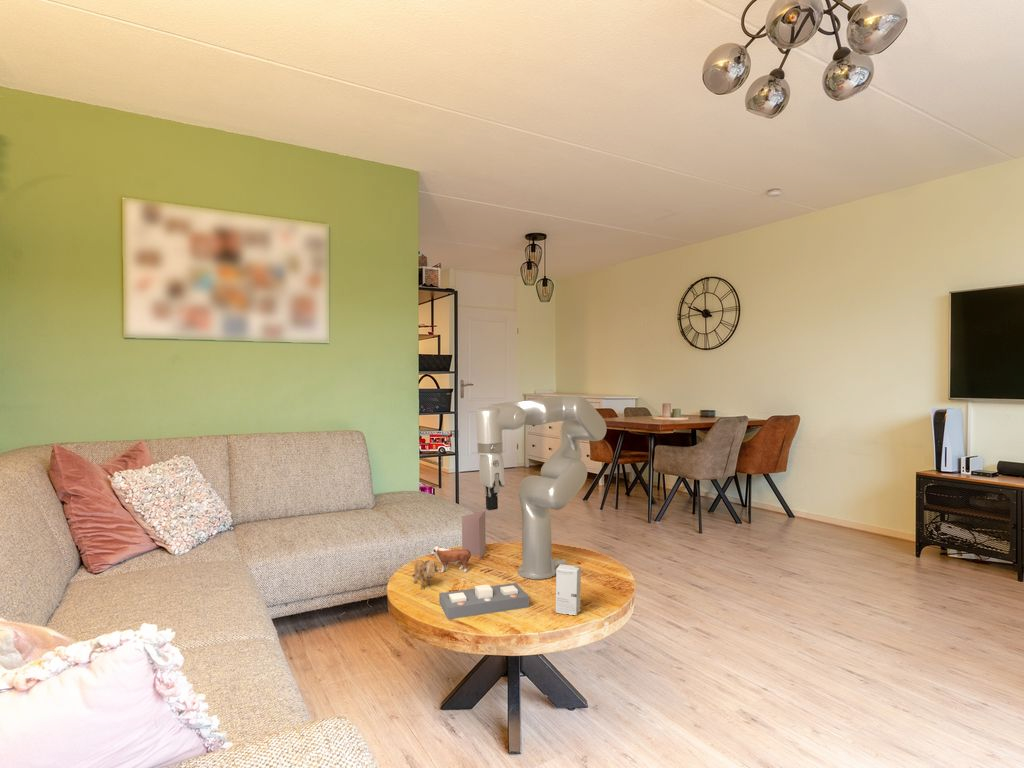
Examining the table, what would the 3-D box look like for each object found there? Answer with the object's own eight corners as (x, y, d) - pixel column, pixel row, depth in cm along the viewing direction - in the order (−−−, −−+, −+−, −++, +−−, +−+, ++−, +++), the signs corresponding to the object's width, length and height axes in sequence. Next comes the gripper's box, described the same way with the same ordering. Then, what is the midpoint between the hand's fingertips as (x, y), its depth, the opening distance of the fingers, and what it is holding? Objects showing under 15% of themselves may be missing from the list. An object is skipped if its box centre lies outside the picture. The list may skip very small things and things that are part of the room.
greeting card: (484, 550, 208) (483, 510, 208) (498, 555, 203) (497, 513, 202) (460, 558, 200) (460, 516, 199) (474, 562, 194) (474, 519, 194)
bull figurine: (432, 568, 189) (432, 544, 189) (471, 569, 188) (471, 544, 188) (429, 572, 185) (428, 548, 185) (469, 573, 184) (469, 548, 184)
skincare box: (555, 613, 152) (554, 568, 152) (559, 606, 156) (559, 563, 156) (577, 616, 150) (576, 571, 150) (581, 610, 154) (581, 566, 154)
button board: (516, 592, 167) (515, 582, 167) (529, 607, 156) (529, 595, 156) (439, 603, 159) (439, 592, 159) (447, 619, 149) (447, 607, 149)
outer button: (463, 604, 158) (462, 592, 158) (466, 610, 154) (466, 597, 154) (449, 606, 157) (448, 594, 157) (452, 612, 153) (452, 599, 153)
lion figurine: (442, 589, 170) (441, 559, 170) (426, 593, 167) (426, 563, 167) (419, 576, 182) (419, 548, 182) (404, 579, 179) (404, 551, 179)
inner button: (513, 597, 163) (513, 585, 163) (518, 602, 159) (518, 590, 159) (500, 599, 162) (500, 587, 162) (504, 604, 158) (504, 592, 158)
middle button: (488, 596, 160) (488, 584, 160) (492, 601, 157) (492, 589, 157) (475, 598, 159) (474, 586, 159) (478, 603, 155) (478, 591, 155)
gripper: (511, 450, 163) (513, 513, 164) (492, 444, 177) (494, 502, 178) (487, 452, 160) (489, 516, 161) (470, 446, 174) (472, 505, 175)
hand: (492, 509), depth 169 cm, fingers closed
